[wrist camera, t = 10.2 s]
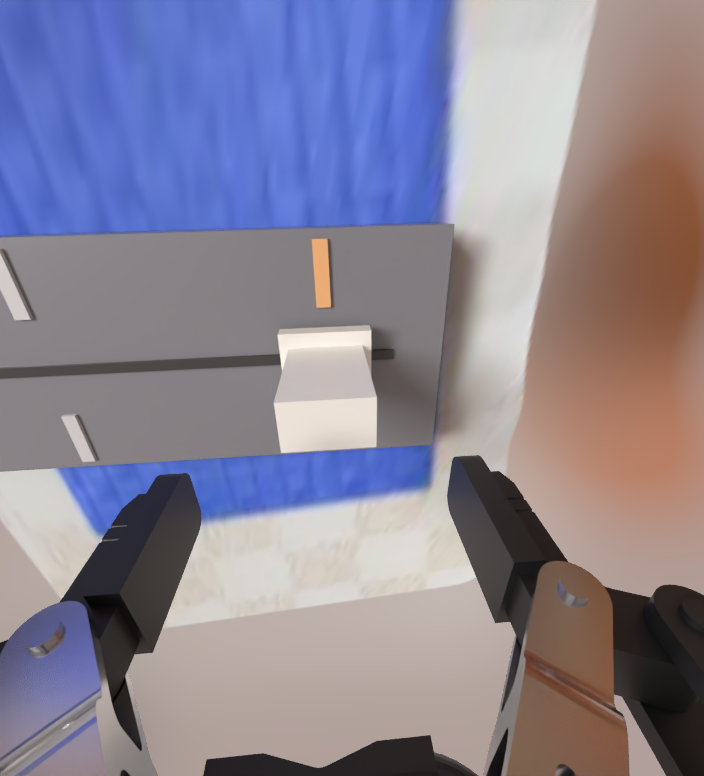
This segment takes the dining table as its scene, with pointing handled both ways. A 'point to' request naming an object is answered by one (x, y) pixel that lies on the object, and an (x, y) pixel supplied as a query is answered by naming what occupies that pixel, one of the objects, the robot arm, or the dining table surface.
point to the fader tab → (325, 389)
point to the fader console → (205, 336)
